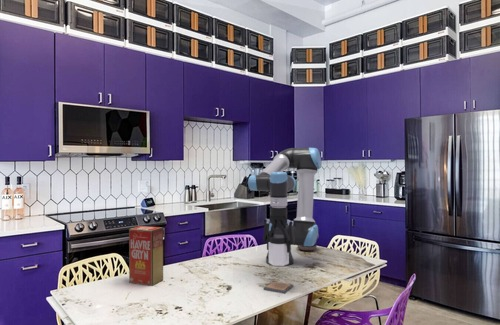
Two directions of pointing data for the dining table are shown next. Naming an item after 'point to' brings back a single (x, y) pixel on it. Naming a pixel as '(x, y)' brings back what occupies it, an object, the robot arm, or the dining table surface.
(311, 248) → the flowerpot
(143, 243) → the food packaging
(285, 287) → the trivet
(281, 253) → the jar
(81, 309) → the dining table surface
